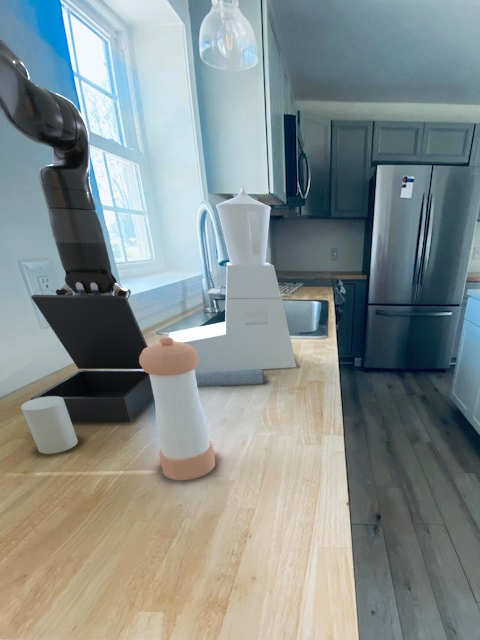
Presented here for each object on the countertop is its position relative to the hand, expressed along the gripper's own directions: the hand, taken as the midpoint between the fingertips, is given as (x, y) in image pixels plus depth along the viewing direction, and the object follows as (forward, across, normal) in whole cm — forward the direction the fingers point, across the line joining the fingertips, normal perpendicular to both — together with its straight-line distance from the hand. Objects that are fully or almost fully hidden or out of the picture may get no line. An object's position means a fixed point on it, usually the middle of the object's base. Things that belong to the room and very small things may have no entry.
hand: (106, 339), depth 72 cm
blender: (+12, -19, -24) cm, 33 cm away
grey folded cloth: (+12, -18, -7) cm, 23 cm away
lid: (-1, 0, +2) cm, 3 cm away
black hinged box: (+12, 0, +6) cm, 14 cm away
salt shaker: (+12, -22, +28) cm, 38 cm away
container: (+12, 0, +22) cm, 25 cm away
